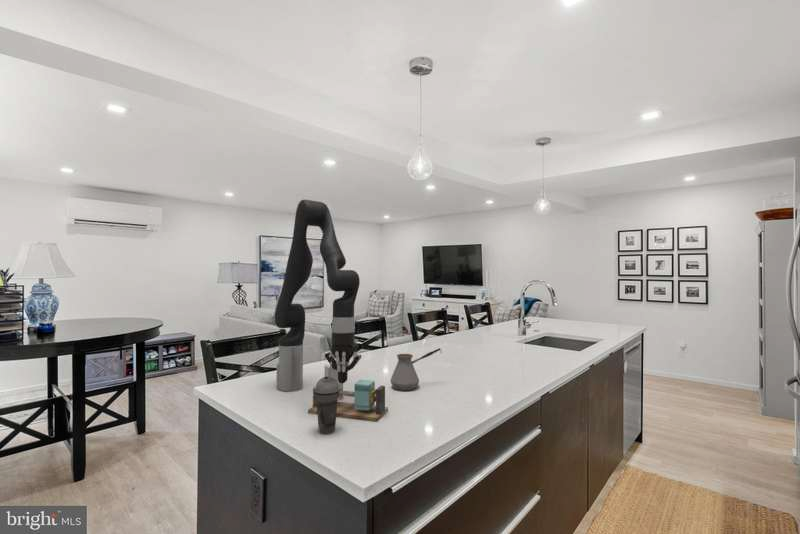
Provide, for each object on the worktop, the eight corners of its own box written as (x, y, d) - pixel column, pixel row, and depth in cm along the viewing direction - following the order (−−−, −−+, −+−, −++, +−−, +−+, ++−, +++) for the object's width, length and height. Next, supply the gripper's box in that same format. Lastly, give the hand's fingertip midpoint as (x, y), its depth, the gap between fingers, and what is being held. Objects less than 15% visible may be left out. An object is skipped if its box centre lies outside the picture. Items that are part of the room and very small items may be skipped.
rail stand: (308, 413, 127) (308, 385, 127) (323, 403, 136) (323, 377, 137) (377, 421, 120) (377, 392, 120) (387, 410, 129) (387, 383, 129)
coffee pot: (393, 393, 148) (394, 353, 148) (387, 384, 159) (387, 347, 159) (446, 389, 153) (446, 351, 153) (437, 381, 164) (437, 345, 165)
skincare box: (327, 401, 139) (327, 367, 139) (324, 397, 142) (324, 365, 143) (343, 398, 141) (343, 365, 142) (339, 395, 145) (340, 363, 145)
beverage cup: (315, 426, 116) (316, 359, 117) (340, 425, 117) (340, 358, 117) (312, 436, 109) (312, 365, 109) (338, 435, 110) (338, 364, 110)
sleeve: (354, 408, 125) (354, 383, 125) (360, 403, 130) (360, 379, 130) (368, 410, 123) (368, 385, 123) (374, 405, 128) (374, 380, 128)
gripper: (319, 330, 127) (319, 383, 127) (357, 333, 123) (356, 387, 123) (330, 327, 135) (330, 377, 135) (366, 329, 131) (365, 381, 131)
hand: (342, 382), depth 129 cm, fingers closed
